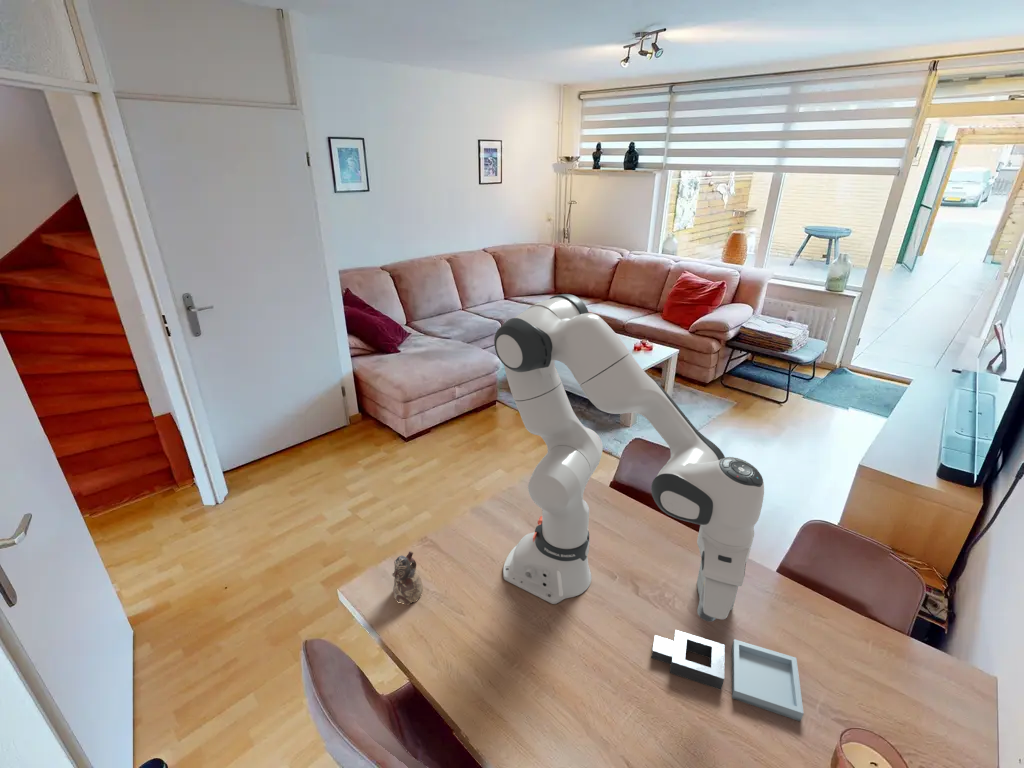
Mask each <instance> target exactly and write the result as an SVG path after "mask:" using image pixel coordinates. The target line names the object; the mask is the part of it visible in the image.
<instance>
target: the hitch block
mask: <svg viewBox="0 0 1024 768" xmlns="http://www.w3.org/2000/svg"><path fill="white" fill-rule="evenodd" d="M725 647H726V645H725V644H724V643H720V642H717V641H714V640H711V639H707V638H704V637H701V636H698V635H694V634H691V633H688V632H684V631H681V630H678V629H675V630H674V636H673V639H669V638H668V637H667V638H666V637H663V636H660V635H656V634H654V638H653V644H652V651H651V659H653V660H657V661H660V662H663V663H666V664H668V665H670V667H669V673H670V674H672V675H675V676H678V677H681V678H684V679H688V680H689V681H693V682H697V684H698V683H699V684H702V685H705V686H707V687H711V688H714V689H716V690H720V691H722V690H723V686H724V682H725V664H726V663H725V657H726V656H725V654H726V653H725V649H726V648H725ZM687 652H690V653H693V654H696V655H700V656H702V657H705V658H708V666H706V665H704V664H700V663H697V662H695V661H690V660H688V659H686V656H687V655H686V653H687Z"/></svg>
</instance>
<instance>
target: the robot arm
mask: <svg viewBox="0 0 1024 768" xmlns="http://www.w3.org/2000/svg"><path fill="white" fill-rule="evenodd" d="M587 307H588V306H586V304H585V302H583V301H582V300H581V299H580V298H579V297H578V296H576V295H573V294H570V293H562V294H557V295H553V296H551V297H550V298H548V299H546V300H542V301H539V302H538V303H536V304H533V305H531V306H529V307H528V308H527V309H525V310H524V311H522V312H521V313H519V314H518V315H516V316H515V317H513V318H510V319H508V320H506V321H505V322H504V323H503V324H502V325H500V326H499V328H498V329H497V331H496V332H495V334H494V338H493V342H494V343H493V344H494V349H495V354H496V356H497V357H498V359H499V361H500V362H501V363H502V364H503V367H504V371H505V377H506V380H507V383H508V386H509V389H510V392H511V395H512V398H513V400H514V402H515V405H516V407H517V410H518V412H519V415H520V417H521V421H522V423H523V425H524V428H525V430H527V431H528V432H529V433H530V434H531V435H535V436H539V437H540V438H541V439H542V440H543V442H544V443H545V445H546V447H547V448H546V449H547V452H546V454H545V455H544V456H543V457H542V459H541V460H540V461H539V462H538V463H537V465H536V466H535V468H534V469H533V470H532V471H533V472H532V474H531V477H530V479H529V480H528V484H527V491H528V493H529V494H528V495H529V497H530V499H531V500H532V501H533V502H534V504H535V505H536V506H538V508H540V509H541V511H542V513H541V514H542V515H541V516H539V517H538V518H539V519H538V520H537V526H536V527H535V529H534V532H529V533H526V534H525V535H524V536H523V537H522V538H521V539H520V540H519V542H518V543H517V544H516V545H515V546H514V547H513V548H512V549H511V551H510V552H509V553H508V555H507V557H506V558H505V561H504V564H503V569H502V576H503V579H504V581H506V582H508V583H510V584H512V585H514V586H516V587H518V588H520V589H522V590H524V591H525V592H527V593H530V594H532V595H534V596H536V597H538V598H540V599H542V600H543V601H546V602H548V603H549V604H553V605H557V604H559V603H560V602H562V601H563V600H566V599H570V598H574V597H576V596H579V595H581V594H583V593H584V592H586V590H588V588H589V587H590V585H591V583H592V573H591V570H590V566H589V558H588V555H589V551H590V544H591V543H590V541H591V540H590V532H589V522H590V521H589V520H590V508H589V504H588V503H587V502H586V500H584V492H585V490H586V487H587V484H588V483H589V480H590V479H591V477H592V475H593V474H594V472H595V471H596V469H597V468H598V467H599V464H600V462H601V459H602V453H603V450H604V445H603V442H602V441H603V440H602V439H601V438H600V436H599V434H598V433H596V431H594V430H592V429H591V428H589V427H587V426H584V424H583V423H582V422H581V421H580V420H579V418H578V417H577V415H576V413H575V411H574V410H573V408H572V406H571V405H572V404H571V402H570V400H569V398H568V395H567V393H566V390H565V388H564V384H563V382H562V380H561V377H560V374H559V373H558V371H557V367H556V365H555V361H558V362H561V363H563V364H564V365H565V366H566V368H568V370H569V371H570V373H571V374H572V376H573V377H574V379H575V380H576V382H577V385H579V387H580V389H581V390H582V392H583V393H584V395H585V396H586V398H587V399H588V400H589V401H590V403H592V405H594V406H595V407H596V409H598V410H599V411H601V412H605V413H608V414H612V415H613V414H614V415H621V414H630V413H633V414H638V415H640V416H643V417H644V418H645V419H646V420H647V421H648V422H649V424H651V426H652V427H653V429H655V431H656V433H658V435H660V437H661V438H662V440H664V442H665V443H666V445H667V446H668V448H669V450H670V457H669V459H668V461H667V462H666V463H665V464H664V465H663V467H662V468H661V469H660V471H659V472H658V474H657V475H656V476H655V477H654V479H653V480H652V482H651V486H650V490H651V491H650V492H651V496H652V498H653V500H654V503H655V504H656V505H657V507H658V508H659V509H660V510H661V511H662V512H663V513H664V514H666V515H668V516H670V517H672V518H674V519H677V520H680V521H684V522H688V523H690V524H691V523H692V524H695V525H699V531H698V534H697V540H696V544H697V547H698V549H699V550H698V551H699V555H700V559H701V560H700V562H701V561H702V575H703V576H704V602H703V611H704V614H706V615H708V616H710V617H713V618H716V619H718V620H722V621H723V620H726V618H728V616H729V615H730V611H731V610H730V609H731V606H732V604H733V601H734V598H735V595H736V596H737V594H736V591H737V592H738V590H737V587H738V588H739V587H743V585H744V581H745V575H746V565H747V562H748V560H749V556H750V553H751V550H752V545H753V541H754V538H755V525H756V524H757V523H758V521H759V520H760V519H759V518H760V516H761V511H762V507H763V503H764V497H765V483H764V478H763V476H762V474H761V473H760V472H759V470H758V468H757V467H756V466H754V465H752V464H751V463H749V462H748V461H746V460H743V459H741V458H738V457H733V456H729V457H727V456H725V455H724V453H723V451H722V450H721V448H720V447H719V446H717V445H716V443H714V442H713V441H712V440H711V439H708V438H707V437H706V436H705V435H703V434H702V433H701V432H700V431H699V430H698V429H697V428H696V427H695V426H694V425H693V423H692V422H691V421H690V419H689V418H688V417H687V416H686V415H685V413H684V412H683V411H682V409H680V407H679V406H678V405H677V403H676V402H675V400H673V398H672V397H671V396H670V395H669V393H667V391H666V390H665V388H663V386H661V384H659V383H658V382H657V381H656V380H655V379H653V378H652V377H650V375H648V374H647V373H646V371H645V370H644V369H643V368H642V367H641V366H640V364H639V363H638V362H637V360H636V359H635V357H633V355H632V353H631V352H630V350H629V349H628V347H627V346H626V345H625V343H624V342H623V340H621V338H620V337H619V336H618V334H617V333H616V332H615V331H614V330H613V329H612V327H611V326H609V324H608V323H607V322H606V321H605V320H604V319H603V318H602V317H600V315H598V314H596V313H591V312H589V310H588V308H587ZM735 599H736V598H735Z"/></svg>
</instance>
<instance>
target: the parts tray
mask: <svg viewBox="0 0 1024 768" xmlns="http://www.w3.org/2000/svg"><path fill="white" fill-rule="evenodd" d="M797 659H798V658H797V657H796V656H792V655H790V654H789V655H788V654H785V653H781V652H778V651H775V650H772V649H768V648H765V647H762V646H759V645H755V644H751V643H748V642H745V641H742V640H739V639H735V638H734V639H733V642H732V645H731V698H732V700H736V701H738V702H741V703H745V704H747V705H750V706H754V707H756V708H759V709H761V710H762V709H763V710H766V711H768V712H770V713H775V714H777V715H780V716H782V717H786V718H789V719H792V720H795V721H797V722H801V721H802V719H803V716H804V707H803V698H802V690H801V682H800V676H799V674H800V673H799V667H798V660H797Z"/></svg>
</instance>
